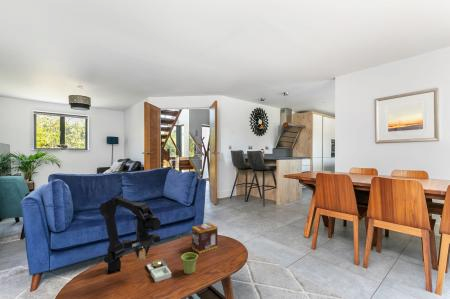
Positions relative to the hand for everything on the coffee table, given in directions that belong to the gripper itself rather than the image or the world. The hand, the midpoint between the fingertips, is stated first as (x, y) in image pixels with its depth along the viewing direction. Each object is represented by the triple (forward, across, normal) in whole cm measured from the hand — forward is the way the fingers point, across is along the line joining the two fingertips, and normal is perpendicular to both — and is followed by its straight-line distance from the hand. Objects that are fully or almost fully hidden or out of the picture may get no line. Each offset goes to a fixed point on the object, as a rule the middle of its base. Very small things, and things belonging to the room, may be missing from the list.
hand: (141, 256), depth 119 cm
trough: (+12, +9, -4) cm, 15 cm away
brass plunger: (+10, +10, +7) cm, 16 cm away
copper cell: (+2, 0, 0) cm, 2 cm away
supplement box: (+12, +46, +14) cm, 50 cm away
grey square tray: (+12, +10, +7) cm, 17 cm away
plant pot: (+12, +24, -8) cm, 28 cm away
